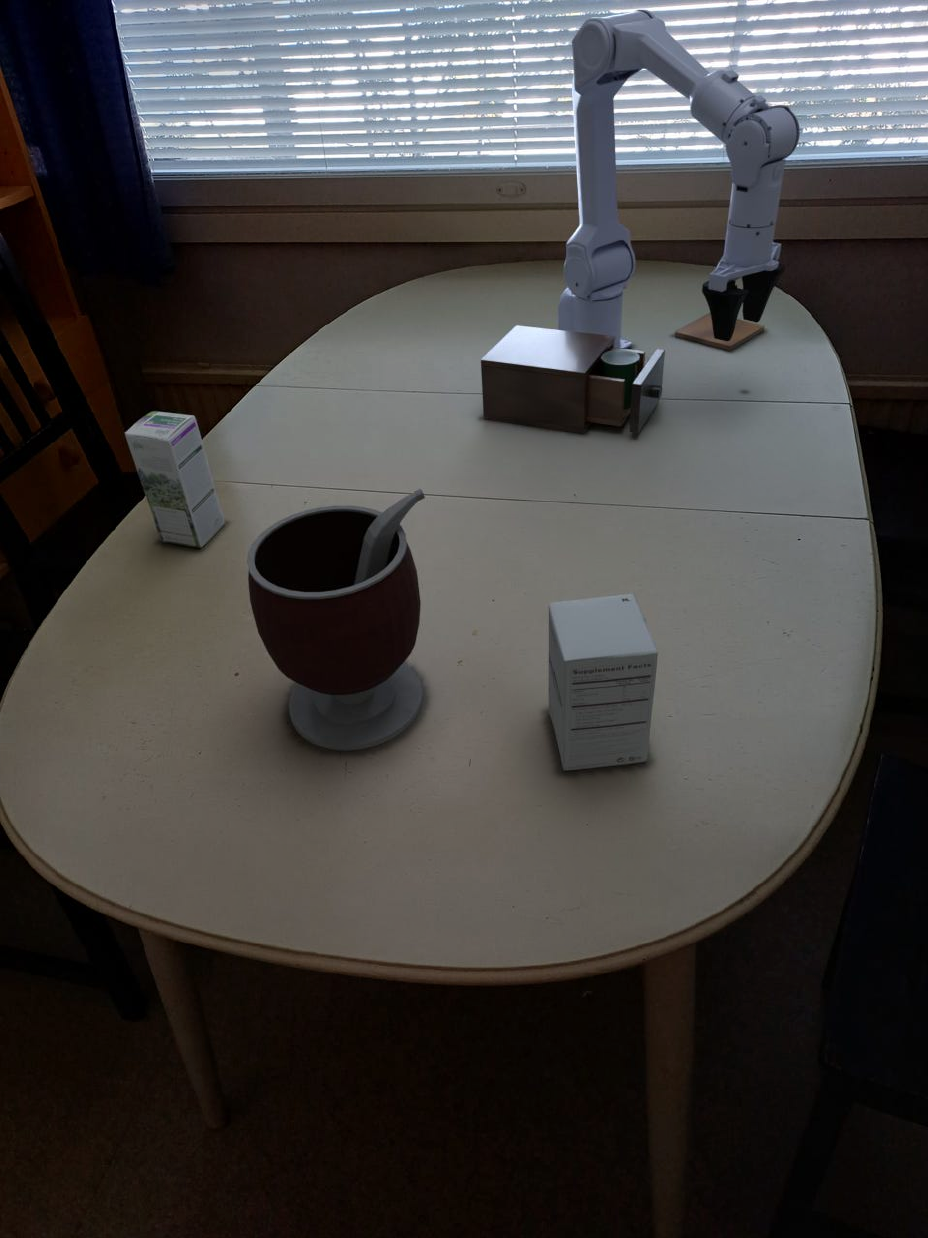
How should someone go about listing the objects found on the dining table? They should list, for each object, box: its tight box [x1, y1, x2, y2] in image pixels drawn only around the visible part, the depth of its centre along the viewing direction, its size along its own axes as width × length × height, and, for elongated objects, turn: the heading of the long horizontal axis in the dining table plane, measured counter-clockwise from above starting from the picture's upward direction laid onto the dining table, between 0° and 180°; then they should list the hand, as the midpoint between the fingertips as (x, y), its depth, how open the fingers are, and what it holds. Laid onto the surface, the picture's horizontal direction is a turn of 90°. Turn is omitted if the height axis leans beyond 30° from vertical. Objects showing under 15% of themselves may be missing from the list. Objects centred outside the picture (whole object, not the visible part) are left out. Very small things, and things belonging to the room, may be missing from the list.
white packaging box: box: [548, 593, 659, 771], centre depth 73 cm, size 7×7×13 cm
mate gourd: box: [246, 488, 426, 751], centre depth 77 cm, size 16×14×20 cm
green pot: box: [601, 349, 640, 409], centre depth 120 cm, size 5×5×6 cm
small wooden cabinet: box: [480, 324, 615, 435], centre depth 124 cm, size 15×13×9 cm
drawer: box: [586, 347, 666, 435], centre depth 121 cm, size 15×11×7 cm
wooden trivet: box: [674, 312, 765, 352], centre depth 143 cm, size 10×10×1 cm
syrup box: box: [124, 410, 226, 549], centre depth 102 cm, size 6×6×14 cm
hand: (737, 329), depth 119 cm, fingers open, 7 cm apart
